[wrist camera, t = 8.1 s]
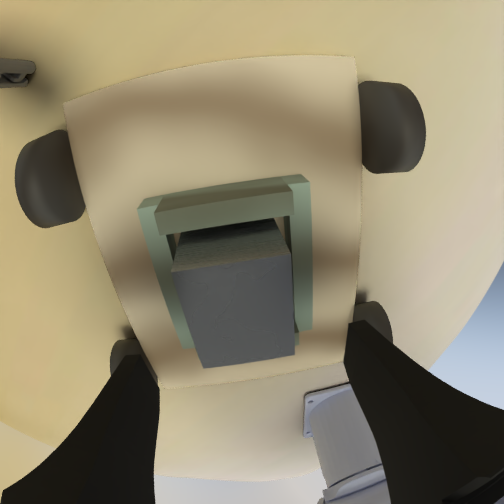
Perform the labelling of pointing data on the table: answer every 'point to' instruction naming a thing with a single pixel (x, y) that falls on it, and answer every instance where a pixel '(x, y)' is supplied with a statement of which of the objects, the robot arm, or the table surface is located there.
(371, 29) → the table surface
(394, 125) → the chassis
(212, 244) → the block
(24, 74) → the mechanical component
